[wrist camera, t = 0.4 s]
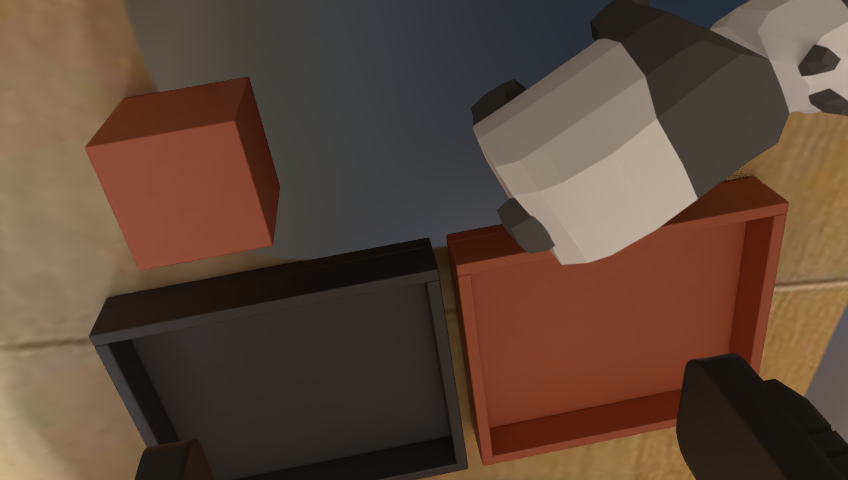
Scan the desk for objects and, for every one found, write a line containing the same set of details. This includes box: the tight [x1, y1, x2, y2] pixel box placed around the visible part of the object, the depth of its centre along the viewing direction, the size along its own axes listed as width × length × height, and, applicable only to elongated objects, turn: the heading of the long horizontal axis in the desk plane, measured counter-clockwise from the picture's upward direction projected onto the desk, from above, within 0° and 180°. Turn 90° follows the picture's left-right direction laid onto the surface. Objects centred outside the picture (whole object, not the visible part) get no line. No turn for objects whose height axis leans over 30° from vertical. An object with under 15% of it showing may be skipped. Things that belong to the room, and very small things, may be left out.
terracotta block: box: [85, 77, 280, 271], centre depth 25 cm, size 5×5×5 cm
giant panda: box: [471, 0, 848, 265], centre depth 24 cm, size 15×6×10 cm, turn 125°
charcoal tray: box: [89, 238, 468, 480], centre depth 33 cm, size 13×15×3 cm
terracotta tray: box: [446, 177, 789, 465], centre depth 34 cm, size 13×15×3 cm
